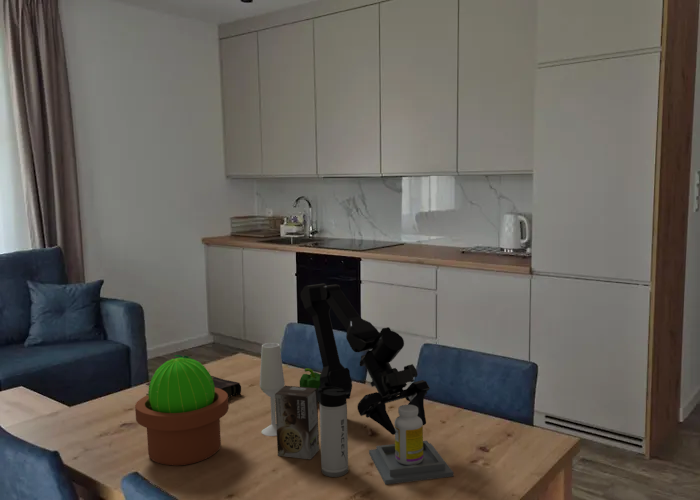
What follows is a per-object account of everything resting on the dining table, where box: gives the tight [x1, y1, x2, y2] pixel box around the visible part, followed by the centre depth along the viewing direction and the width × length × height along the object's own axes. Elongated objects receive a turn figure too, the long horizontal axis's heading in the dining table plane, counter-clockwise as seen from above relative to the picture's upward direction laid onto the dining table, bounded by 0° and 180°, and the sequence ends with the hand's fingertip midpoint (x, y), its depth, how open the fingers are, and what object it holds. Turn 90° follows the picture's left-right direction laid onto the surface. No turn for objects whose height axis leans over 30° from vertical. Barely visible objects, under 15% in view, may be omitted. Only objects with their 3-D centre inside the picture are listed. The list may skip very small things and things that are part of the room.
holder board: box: [368, 440, 454, 485], centre depth 148 cm, size 16×16×2 cm
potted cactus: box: [134, 354, 229, 467], centre depth 157 cm, size 22×22×25 cm
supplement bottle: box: [394, 404, 424, 465], centre depth 147 cm, size 7×7×13 cm
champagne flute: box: [259, 342, 286, 437], centre depth 168 cm, size 7×7×24 cm
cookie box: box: [275, 385, 320, 460], centre depth 155 cm, size 9×6×16 cm
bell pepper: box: [299, 367, 321, 403], centre depth 192 cm, size 8×8×10 cm
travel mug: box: [318, 387, 349, 478], centre depth 144 cm, size 6×7×20 cm
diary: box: [145, 375, 242, 399], centre depth 199 cm, size 19×25×5 cm
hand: (410, 429), depth 146 cm, fingers open, 9 cm apart
